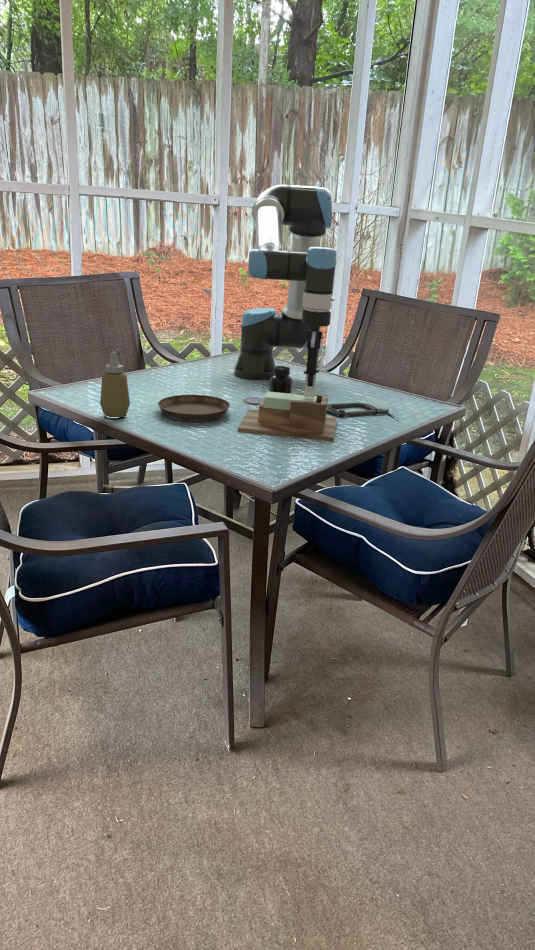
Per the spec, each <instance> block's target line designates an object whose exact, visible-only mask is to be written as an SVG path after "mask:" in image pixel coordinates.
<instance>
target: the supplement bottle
mask: <svg viewBox="0 0 535 950" xmlns="http://www.w3.org/2000/svg"><path fill="white" fill-rule="evenodd" d="M290 375H291V368H290V367H288V366H285V365H275V367H274V375H273V376H271V378H270V379H269V388H268V389H269V390H268V392H278V393H288V394H292V389H293V379H292V377H291V376H290Z"/></svg>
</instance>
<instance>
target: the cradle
mask: <svg viewBox="0 0 535 950" xmlns="http://www.w3.org/2000/svg"><path fill="white" fill-rule="evenodd" d="M304 393H305V392H296V391H294V393H293V394H299V395H304ZM314 396H317V403H312V402H302V401H291V409H290V410H283V409H273V408H264V401H262V402H260V404H259V405H258V409H250V408H249V409H248V410H247V411H246V413H245V415H244V417H243V418H242V420H241V422H240V424H239V425H238V427H237V432H242V433H253V434H264V435H271V436H281V437H290V438H291V437H292V438H300V439H301V438H302V439H303V438H304V439H309V440H310V439H312V440H322V441H331V442H334V441H335V436H336V435H335V433H336V428H337V427H336V426H337V417H334V416H332V417H331V416H327V413H328V412H327V404H328V399H329V395H327V394H316V393H315V395H314Z"/></svg>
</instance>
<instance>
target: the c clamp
mask: <svg viewBox="0 0 535 950" xmlns="http://www.w3.org/2000/svg"><path fill="white" fill-rule="evenodd" d="M350 407H355V408H358V407H361V408H360V409H364V408H365V409H364V410H351V411H347V412H346V410H345V409H351V408H350ZM340 408H341V409H340ZM366 409H367V410H366ZM326 413H328V414H332V415H336V416H338V417H339V418H341V417H342V418H341V419H344V418H346V417H354V416H357V417H358V416H369V415H370V414H372V415H376V414H382V415H383V413H387V414H386V415H388V414H389V415H388V416H390V415H391V416H393V417H396V416H395V415H393V414H392V413H391V412H390V409H388V408H380V407H376V406H374V405H372V404H368V403H365V402H342V403H327V412H326ZM391 416H390V417H391ZM393 417H392V418H393ZM396 418H397V419H400V418H398V417H396Z"/></svg>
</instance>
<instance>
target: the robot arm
mask: <svg viewBox="0 0 535 950" xmlns="http://www.w3.org/2000/svg"><path fill="white" fill-rule="evenodd" d="M252 220H253V221H254V223H255V248H252V249H250V250H249V252H248V269H247V274H248V277H250V278H252V279H260V280H275V281H276V280H278V281H289V282H288V294H287V301H286V302H287V303H286V305H284V306H283V307H282V309H281V313H280V312H279V313H278V312H277V311H276V309H275V308H272V307H257V308H253V309H252V308H250V309H248V310H245V311H244V312H243V313H242V315H241V323H240V327H241V329H240V331H241V332H240V347H239V349H240V351H239V355H238V357H237V360H236V363H235V366H234V372H233V373H234V376H236V377H239V378H242V379H246V380H255V381H257V380H259V381H263V380H270V378H271V376H273V375H274V367H275V366H276V362H275V358H274V348H288V349H300V350H301V349H307V355H306V356H307V358H306V368H305V369H306V370H304V371H303V374H304V375H305V383H304V392H303V393H304V397H310V398H314V395H315V394H316V385H317V384H316V383H317V374H320V370H319V369H318V360H319V350H320V349H321V343H322V339H323V331H321V327H322V328H323V327H328V326H330V324H331V316H332V312H331V311H330V310H331V309H332V304H333V302H334V301H335V297H333V294H334V292H333V291H334V284H335V283H334V282H335V275H336V274H335V273H336V272H335V271H336V266H337V250H336V249H335V248H334V247H326V246H320V241H321V238H323V237H324V236H325V235H326V230H328V229H330V228H331V227H332V222H333V203H332V194H331V191H330V190H329V189H328V188H327V187H319V186H317V185H316V186H312V185H291V184H289V185H288V184H276V185H273V186H271V187H268V188H267V189H266V190H265V191H263V192H262V193H260V194H259V196H257V198H256V199H255V202H254V203H253V206H252ZM282 225H284V226H289V230H288V231H289V232H290V234H291V235H292V236H293V239H292V250H291V251H289V250H283V249H284V248H283V234H282V233H283V232H282V231H283V229H282Z"/></svg>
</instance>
